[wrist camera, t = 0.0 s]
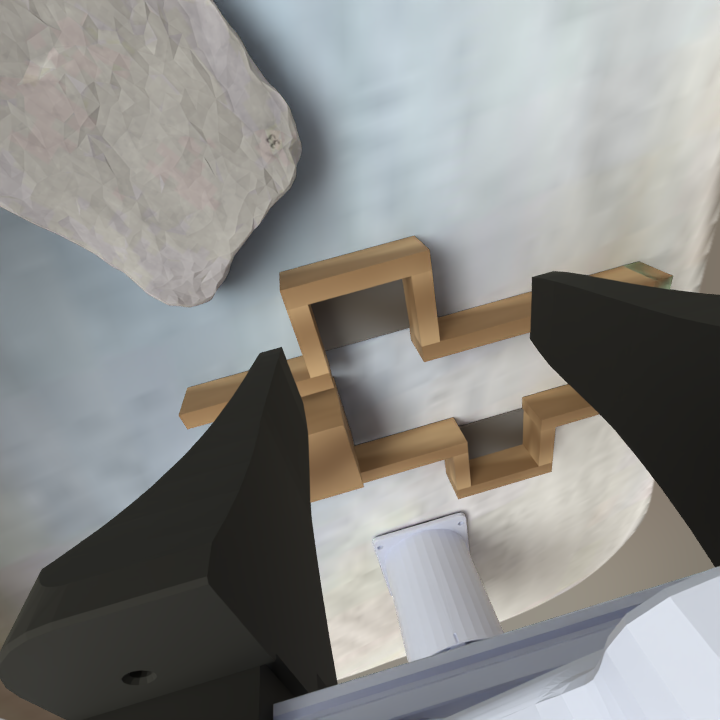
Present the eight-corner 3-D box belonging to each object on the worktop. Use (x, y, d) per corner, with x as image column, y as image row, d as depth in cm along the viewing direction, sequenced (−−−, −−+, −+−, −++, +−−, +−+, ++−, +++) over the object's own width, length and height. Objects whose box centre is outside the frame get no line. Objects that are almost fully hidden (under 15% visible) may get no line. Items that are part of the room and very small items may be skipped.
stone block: (42, -139, 13) (-98, 121, 14) (-32, -282, 9) (-221, 99, 10) (319, 136, 19) (203, 303, 20) (351, 125, 15) (202, 335, 16)
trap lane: (607, 426, 31) (630, 448, 29) (268, 525, 30) (267, 555, 28) (656, 169, 20) (698, 176, 18) (141, 309, 19) (126, 333, 17)
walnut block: (351, 433, 27) (363, 487, 23) (264, 458, 26) (262, 516, 23) (333, 375, 24) (343, 425, 20) (235, 402, 24) (228, 458, 20)
